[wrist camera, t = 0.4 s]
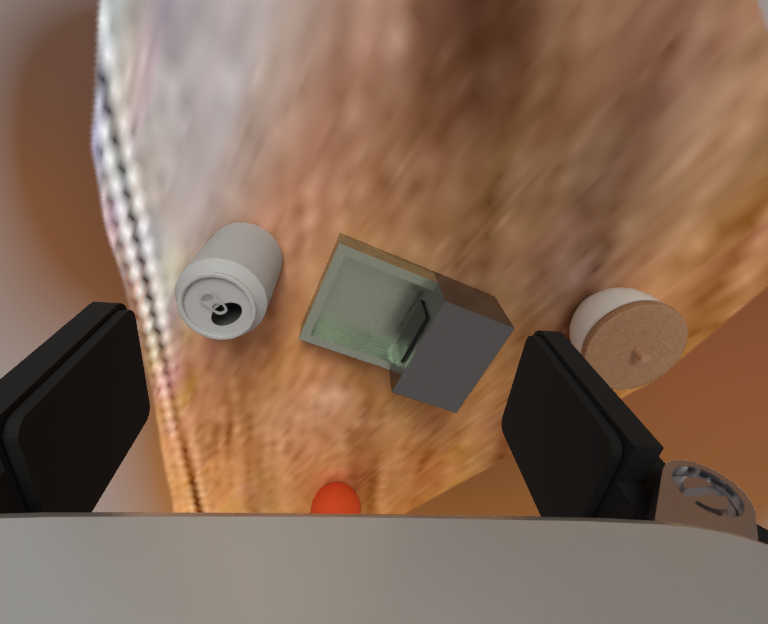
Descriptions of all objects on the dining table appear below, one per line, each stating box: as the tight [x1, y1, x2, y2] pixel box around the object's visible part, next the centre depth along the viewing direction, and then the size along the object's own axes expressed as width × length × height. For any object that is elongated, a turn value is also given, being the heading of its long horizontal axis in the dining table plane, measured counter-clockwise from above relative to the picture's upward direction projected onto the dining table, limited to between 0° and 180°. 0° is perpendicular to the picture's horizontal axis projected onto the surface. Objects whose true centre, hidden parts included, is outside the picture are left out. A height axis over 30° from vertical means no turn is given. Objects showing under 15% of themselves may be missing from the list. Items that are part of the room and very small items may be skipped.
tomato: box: [311, 483, 361, 514], centre depth 61 cm, size 8×7×7 cm
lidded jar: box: [569, 287, 688, 390], centre depth 47 cm, size 11×11×9 cm
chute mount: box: [299, 233, 514, 413], centre depth 47 cm, size 12×19×7 cm, turn 65°
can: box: [175, 222, 283, 340], centre depth 40 cm, size 8×8×12 cm
